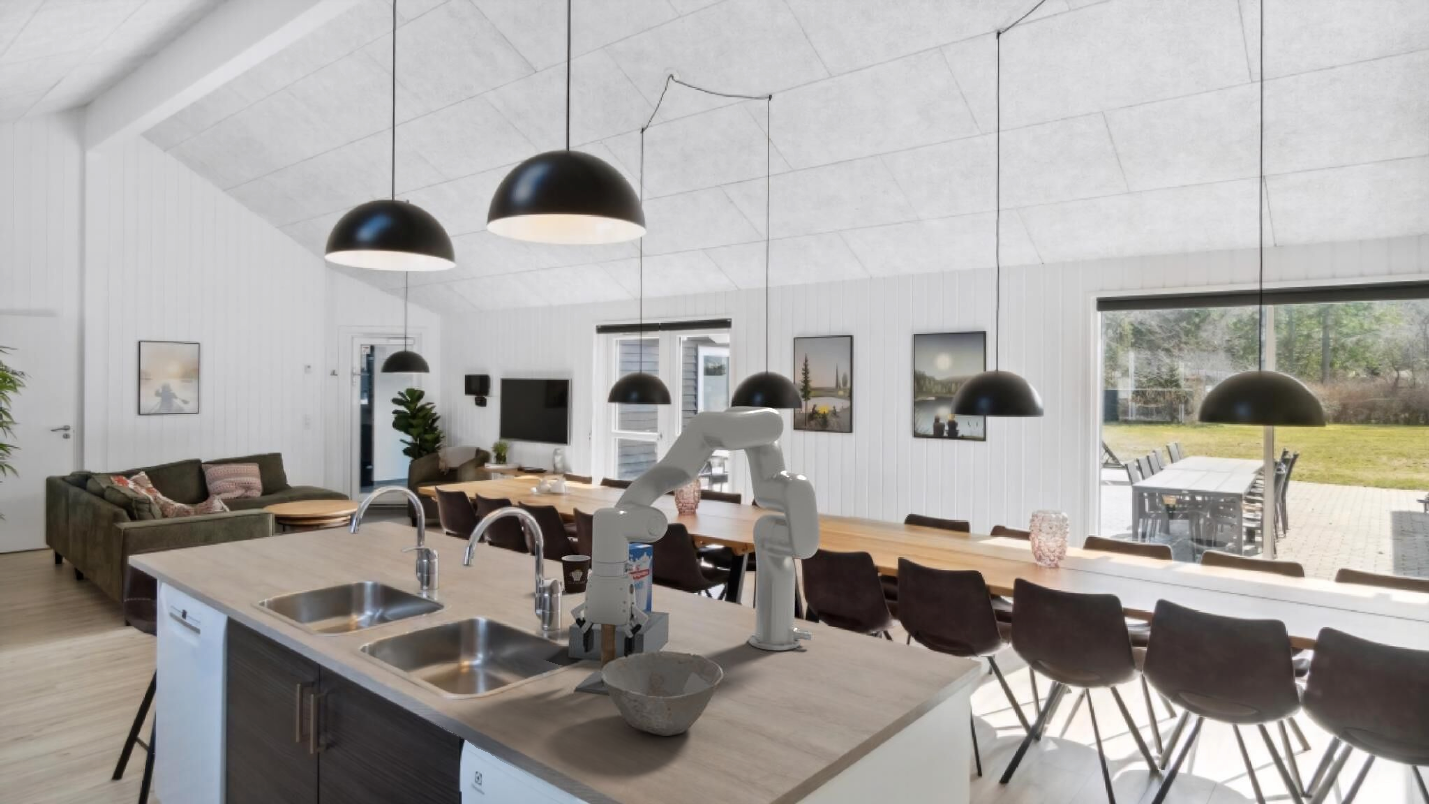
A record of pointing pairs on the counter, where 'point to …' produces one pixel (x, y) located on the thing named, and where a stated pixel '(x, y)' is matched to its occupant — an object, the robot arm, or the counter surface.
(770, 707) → the counter surface
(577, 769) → the counter surface
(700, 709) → the ceramic bowl
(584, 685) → the mat
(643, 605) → the milk carton
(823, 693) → the counter surface
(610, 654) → the dowel
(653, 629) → the box
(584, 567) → the coffee mug
